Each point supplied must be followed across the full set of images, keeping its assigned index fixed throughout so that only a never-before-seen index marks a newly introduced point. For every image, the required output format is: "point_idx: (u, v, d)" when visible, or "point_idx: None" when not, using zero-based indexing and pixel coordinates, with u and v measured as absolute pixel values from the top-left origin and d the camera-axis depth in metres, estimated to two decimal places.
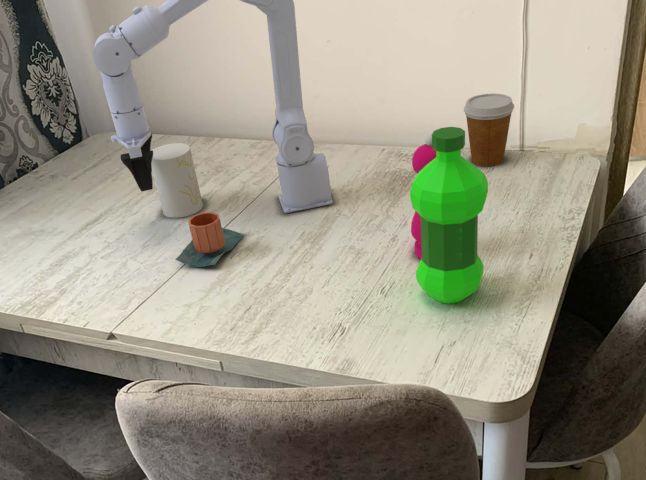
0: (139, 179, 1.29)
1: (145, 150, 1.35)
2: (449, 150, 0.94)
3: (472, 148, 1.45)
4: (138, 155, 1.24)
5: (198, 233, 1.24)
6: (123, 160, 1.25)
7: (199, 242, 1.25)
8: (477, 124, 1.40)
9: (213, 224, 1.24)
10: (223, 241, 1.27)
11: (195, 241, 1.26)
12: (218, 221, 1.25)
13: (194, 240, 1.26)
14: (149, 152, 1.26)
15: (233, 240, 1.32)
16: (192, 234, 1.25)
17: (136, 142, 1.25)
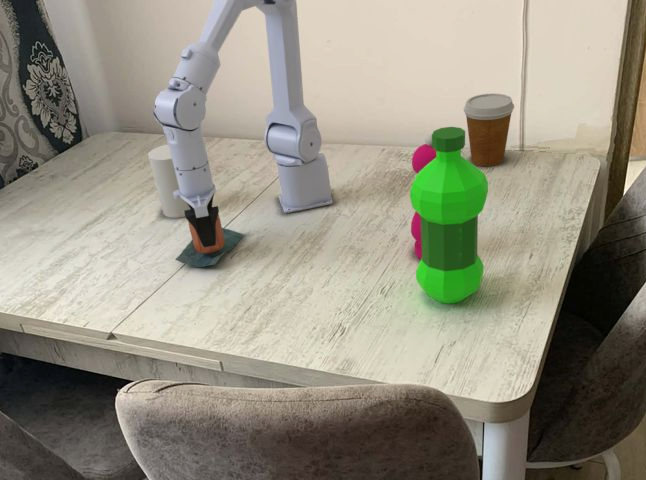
0: (202, 235, 1.23)
1: (207, 206, 1.27)
2: (449, 150, 0.94)
3: (472, 148, 1.45)
4: (204, 214, 1.17)
5: None
6: (188, 217, 1.19)
7: (199, 242, 1.25)
8: (477, 124, 1.40)
9: None
10: (223, 241, 1.27)
11: (195, 241, 1.26)
12: (218, 221, 1.25)
13: (194, 240, 1.26)
14: (214, 208, 1.21)
15: (233, 240, 1.32)
16: (192, 234, 1.25)
17: (201, 200, 1.19)
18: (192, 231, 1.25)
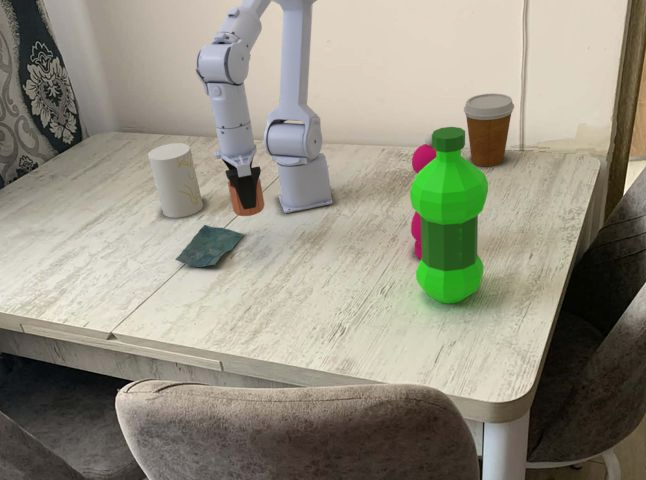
0: (243, 197, 1.21)
1: None
2: (449, 150, 0.94)
3: (472, 148, 1.45)
4: (247, 173, 1.15)
5: None
6: (229, 177, 1.17)
7: (239, 204, 1.23)
8: (477, 124, 1.40)
9: None
10: (263, 204, 1.25)
11: (235, 203, 1.23)
12: (258, 183, 1.22)
13: (234, 202, 1.23)
14: (256, 168, 1.18)
15: (233, 240, 1.32)
16: (232, 196, 1.23)
17: (244, 159, 1.16)
18: (232, 193, 1.22)
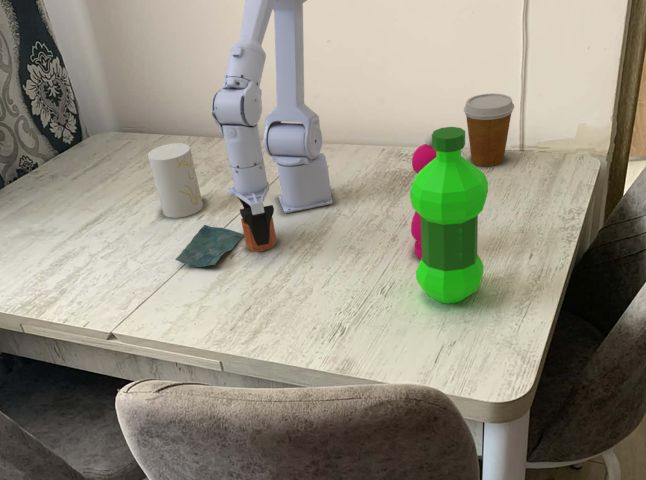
0: (256, 234, 1.24)
1: None
2: (449, 150, 0.94)
3: (472, 148, 1.45)
4: (261, 211, 1.19)
5: None
6: (244, 216, 1.20)
7: (252, 241, 1.27)
8: (477, 124, 1.40)
9: None
10: (275, 240, 1.29)
11: (248, 240, 1.28)
12: (271, 220, 1.27)
13: (247, 239, 1.28)
14: (269, 207, 1.22)
15: (233, 240, 1.32)
16: (245, 233, 1.27)
17: (257, 197, 1.20)
18: (245, 230, 1.27)
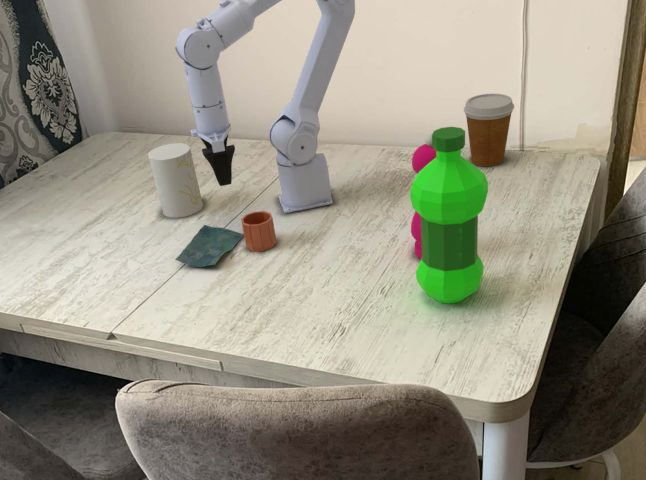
0: (219, 174, 1.28)
1: None
2: (449, 150, 0.94)
3: (472, 148, 1.45)
4: (221, 149, 1.23)
5: (252, 232, 1.26)
6: (205, 154, 1.24)
7: (252, 241, 1.27)
8: (477, 124, 1.40)
9: (266, 223, 1.26)
10: (275, 240, 1.29)
11: (248, 240, 1.28)
12: (271, 220, 1.27)
13: (247, 239, 1.28)
14: (231, 146, 1.26)
15: (233, 240, 1.32)
16: (245, 233, 1.27)
17: (218, 136, 1.24)
18: (245, 230, 1.27)
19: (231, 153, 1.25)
